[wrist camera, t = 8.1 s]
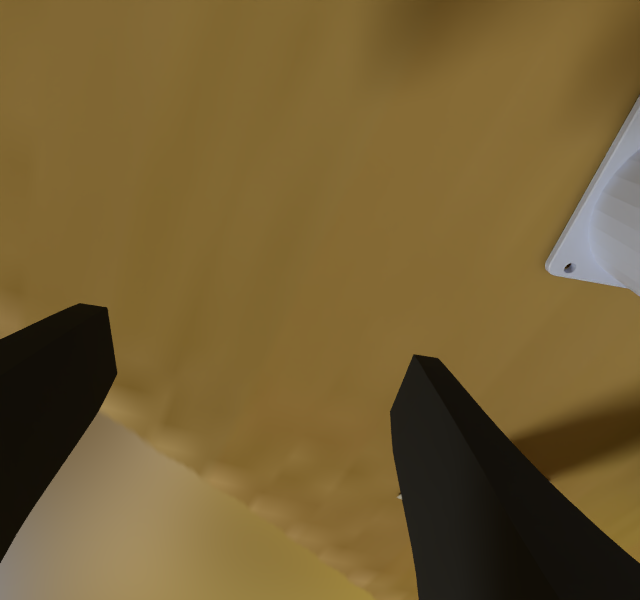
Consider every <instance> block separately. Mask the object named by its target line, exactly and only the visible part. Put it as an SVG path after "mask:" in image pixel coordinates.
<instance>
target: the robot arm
mask: <svg viewBox="0 0 640 600" xmlns="http://www.w3.org/2000/svg"><path fill="white" fill-rule="evenodd" d="M570 263H571V266H570V267H569V268H567V269H564V268H565V266H566V265H568V264H570ZM545 269H546V270H547V271H548V272H549V273H550V274H552V275H555V276H561V277H566V278H572V279H578V280H584V281H589V282H595V283H601V284H606V285H612V286H618V287H623V288H629V289H630V290H632V291H633V292H634V293H636V294H637V295H638V296H640V95H639V97H638V99H637V101H636V102H635V104H634V106H633V108H632V110H631V111H630V113H629V115H628V117H627V118H626V120H625V122H624V124H623V126H622V127H621V129H620V131H619V133H618V134H617V136H616V138H615V140H614V142H613V143H612V145H611V147H610V149H609V151H608V152H607V154H606V156H605V158H604V159H603V161H602V163H601V165H600V167H599V168H598V170H597V172H596V174H595V175H594V177H593V179H592V181H591V183H590V184H589V186H588V188H587V190H586V191H585V193H584V195H583V197H582V199H581V200H580V202H579V204H578V206H577V207H576V209H575V211H574V213H573V215H572V216H571V218H570V220H569V222H568V223H567V225H566V227H565V229H564V231H563V232H562V234H561V236H560V238H559V240H558V241H557V243H556V245H555V247H554V248H553V250H552V252H551V254H550V256H549V257H548V259H547V261H546V264H545ZM116 375H117V368H116V362H115V355H114V348H113V342H112V335H111V329H110V322H109V316H108V309H107V307H101V306H94V305H88V304H81V303H79V304H77V305H74V306H72V307H69V308H67V309H64V310H62V311H60V312H58V313H56V314H53V315H51V316H49V317H47V318H45V319H43V320H41V321H38V322H36V323H34V324H32V325H30V326H28V327H26V328H24V329H22V330H19V331H17V332H15V333H13V334H11V335H9V336H7V337H5V338H2V339H0V563H1V561H2V559H3V557H4V556H5V554H6V552H7V550H8V548H9V547H10V545H11V543H12V541H13V539H14V538H15V536H16V534H17V533H18V531H19V529H20V528H21V526H22V524H23V523H24V521H25V520H26V518H27V517H28V515H29V513H30V512H31V510H32V509H33V507H34V506H35V504H36V503H37V501H38V500H39V498H40V497H41V496H42V494H43V493H44V491H45V490H46V488H47V487H48V485H49V484H50V482H51V481H52V479H53V478H54V477H55V475H56V474H57V472H58V471H59V469H60V468H61V466H62V464H63V463H64V462H65V460H66V459H67V457H68V456H69V455H70V453H71V452H72V450H73V449H74V447H75V446H76V444H77V443H78V441H79V440H80V438H81V437H82V435H83V434H84V433H85V431H86V429H87V428H88V427H89V425H90V424H91V422H92V421H93V419H94V417H95V416H96V414H97V413H98V411H99V409H100V407H101V405H102V403H103V402H104V400H105V398H106V396H107V394H108V392H109V390H110V388H111V386H112V384H113V382H114V379H115V377H116ZM390 417H391V434H392V446H393V455H394V460H395V465H396V471H397V476H398V481H399V486H400V491H401V496H402V501H403V506H404V511H405V516H406V521H407V526H408V531H409V536H410V541H411V546H412V552H413V558H414V564H415V571H416V578H417V587H418V597H419V600H640V563H638V562H637V561H636V560H635V559H634V558H632V557H631V556H630V555H629V554H628V553H627V552H625V551H624V550H623V549H622V548H621V547H620V546H618V545H617V544H616V543H615V542H614V541H613V540H612V539H610V538H609V537H608V536H607V535H606V534H605V533H604V532H602V531H601V530H600V529H599V528H598V527H597V526H596V525H595V524H594V523H593V522H592V521H591V520H589V519H588V518H587V517H586V516H585V515H584V514H583V513H582V512H581V511H580V510H579V509H578V508H577V507H575V506H574V505H573V504H572V503H571V502H570V501H569V500H568V499H567V498H566V497H565V496H564V495H563V494H562V493H561V492H559V491H558V490H557V489H556V488H555V487H554V486H553V485H552V484H551V483H550V482H549V481H548V480H547V479H546V478H545V477H544V476H543V475H542V474H541V473H540V472H539V471H538V469H537V468H536V467H535V466H534V465H533V464H532V463H531V462H530V461H529V460H528V459H527V458H526V457H525V456H524V455H523V454H522V453H521V452H520V451H519V450H518V449H517V448H516V446H515V445H514V444H513V443H512V442H511V441H510V440H509V439H508V438H507V437H506V436H505V435H504V433H503V432H502V431H501V430H500V429H499V428H498V427H497V426H496V424H495V423H494V422H493V421H492V420H491V419H490V418H489V417H488V415H487V414H486V413H485V412H484V411H483V410H482V408H481V407H480V406H479V405H478V404H477V403H476V401H475V400H474V399H473V398H472V397H471V396H470V394H469V393H468V392H467V391H466V390H465V389H464V387H463V386H462V385H461V384H460V383H459V381H458V380H457V379H456V378H455V377H454V376H453V374H452V373H451V372H450V371H449V370H448V369H447V368H446V366H445V365H444V364H443V363H442V362H441V361H440V360H439V359H438V358H434V357H427V356H421V355H413V357H412V360H411V362H410V365H409V367H408V369H407V372H406V374H405V377H404V379H403V382H402V384H401V387H400V389H399V391H398V394H397V396H396V399H395V401H394V404H393V406H392V408H391V411H390Z"/></svg>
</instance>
